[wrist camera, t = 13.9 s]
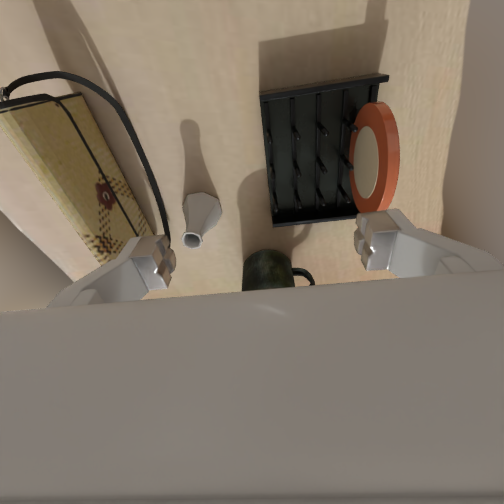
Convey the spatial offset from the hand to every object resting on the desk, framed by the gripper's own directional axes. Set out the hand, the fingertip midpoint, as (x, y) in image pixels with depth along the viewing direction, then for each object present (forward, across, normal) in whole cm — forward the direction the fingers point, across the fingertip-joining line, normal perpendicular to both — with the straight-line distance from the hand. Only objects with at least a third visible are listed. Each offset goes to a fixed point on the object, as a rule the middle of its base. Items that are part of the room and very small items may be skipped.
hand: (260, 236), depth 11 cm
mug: (+33, 0, +30) cm, 45 cm away
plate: (+25, -14, +7) cm, 29 cm away
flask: (+33, +12, +15) cm, 38 cm away
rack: (+33, -8, +8) cm, 35 cm away
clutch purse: (+33, +22, +7) cm, 41 cm away
